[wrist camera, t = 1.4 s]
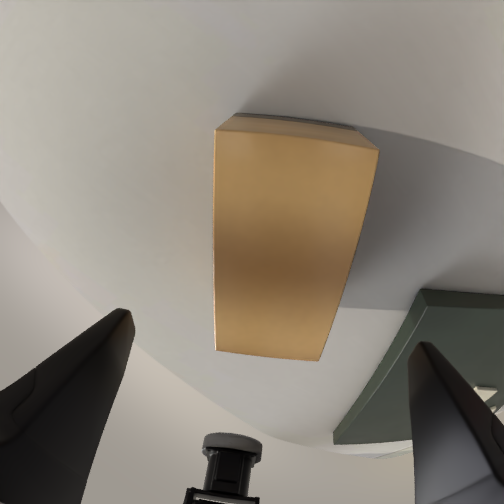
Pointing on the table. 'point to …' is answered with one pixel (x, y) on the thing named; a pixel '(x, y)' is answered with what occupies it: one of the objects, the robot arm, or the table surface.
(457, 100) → the table surface
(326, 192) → the tan rectangular block
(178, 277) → the table surface
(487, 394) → the grey square tile
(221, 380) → the table surface
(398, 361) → the chalkboard
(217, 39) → the table surface
